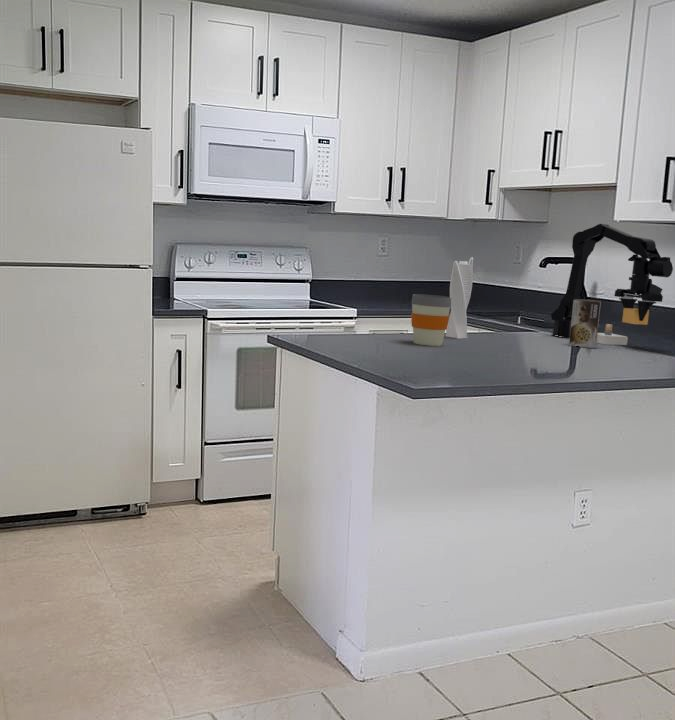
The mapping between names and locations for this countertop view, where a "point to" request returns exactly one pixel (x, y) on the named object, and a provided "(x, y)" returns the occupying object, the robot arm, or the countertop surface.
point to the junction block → (611, 337)
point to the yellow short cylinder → (634, 316)
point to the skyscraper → (459, 299)
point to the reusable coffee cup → (429, 318)
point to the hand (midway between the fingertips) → (635, 319)
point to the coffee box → (584, 323)
